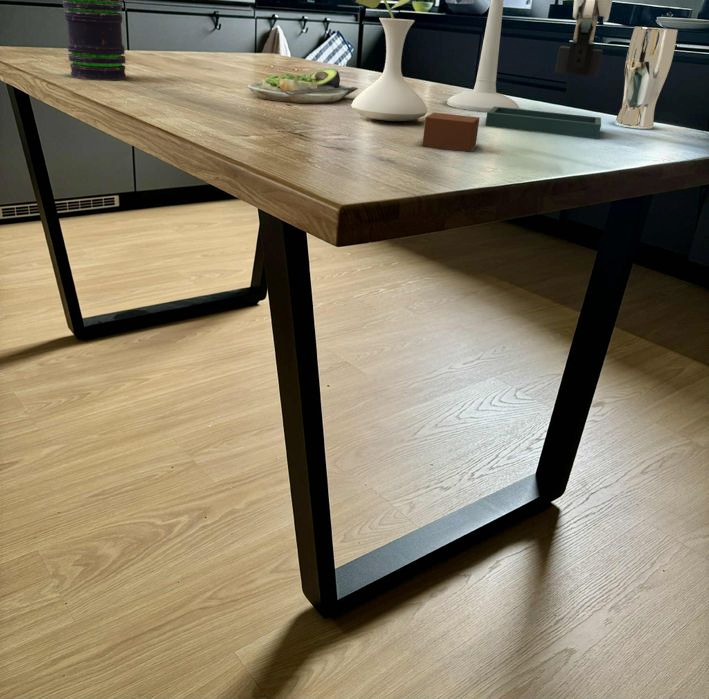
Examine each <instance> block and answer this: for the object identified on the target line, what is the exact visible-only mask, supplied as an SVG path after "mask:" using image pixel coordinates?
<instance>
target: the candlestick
mask: <svg viewBox="0 0 709 699" xmlns="http://www.w3.org/2000/svg"><path fill="white" fill-rule="evenodd" d="M504 1H505V0H490V3H489V8H488V14H487V19H486V26H485V31H484V37H483V43H482V47H481V53H480V58H479V64H478V69H477V75H476V80H475V84H474V87H473V90H467V91H463V92H460V93H457V94H454V95H453V96H451V97H449V98H448V99H447V102H446V104H447V106H450V107H452V108H457V109H461V110H468V111H475V112H483V113H487V112H488V111H490V110H491V109H492V108H493V107H494V106H496V107H505V108H515V109H520V107H519V105H518V103H517V102H516V101H514V100H513V99H512V98H510V97H509V96H507V95H504V94H502V93H499V92H497V85H496V84H497V75H498V74H497V73H498V64H499V52H500V42H501V31H502V20H503V10H504Z"/></svg>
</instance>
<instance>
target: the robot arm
mask: <svg viewBox="0 0 709 699" xmlns="http://www.w3.org/2000/svg"><path fill="white" fill-rule="evenodd" d="M612 4H613V0H573V10H572V11H573V12H572V18H573V19H574V20H576V21H575V28H574V33H573V38H572V42H570V45H569V47H570V50H569V55H568V60H567V66H566V72H567V73H572V74H582V75H587V74H588V72H589V67H590V62H591V57H592V53H593V49H595V48H594V47H595V43H594V38H595V34H596V28H597V25H598V19H599V17H603V18H602V23H606V22H608V21H609V19H610V14H611V10H612V9H611V8H612V6H613V5H612Z"/></svg>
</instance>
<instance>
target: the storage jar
mask: <svg viewBox="0 0 709 699" xmlns="http://www.w3.org/2000/svg"><path fill="white" fill-rule="evenodd" d="M121 2H122V1H121V0H62V6H63V8H65V9H64V10H63V11H64V12H63V13H64V14H63V15H64V19H65V21H66V26H67V36H68V43H67V52H69V53H68V54H67V55H68V56H67V57H68V61H69V62H72V63H69V67H70V77H72V78H76V79H81V80H82V79H83V80H91V81H92V80H93V81H95V80H96V81H97V80H98V81H117V80H118V81H119V80H125V79H126V78H127V74H126V66H125V65H124V64H126V56H125V52H126V50H125V46H124V44H123V34H122V33H123V32H122V23H123V13H121V12H123V6H122V4H120V3H121Z"/></svg>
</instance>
